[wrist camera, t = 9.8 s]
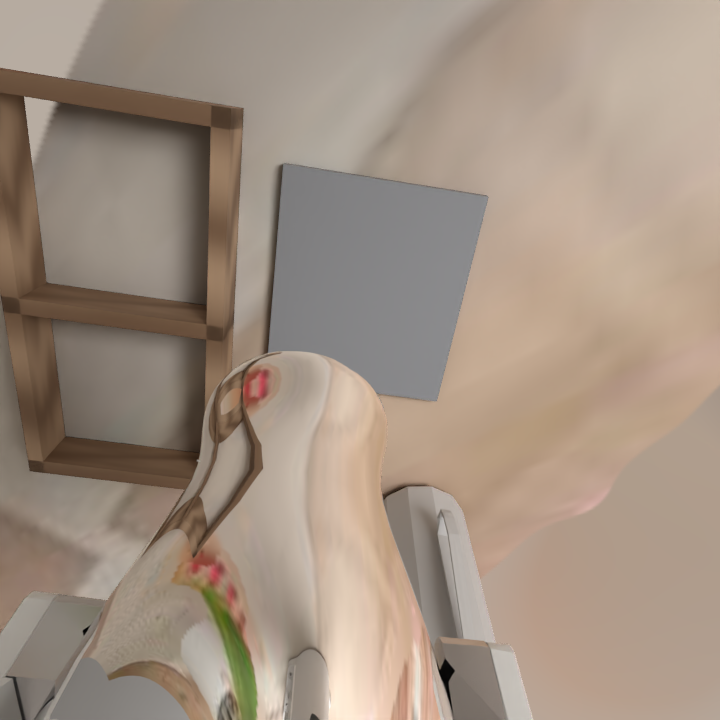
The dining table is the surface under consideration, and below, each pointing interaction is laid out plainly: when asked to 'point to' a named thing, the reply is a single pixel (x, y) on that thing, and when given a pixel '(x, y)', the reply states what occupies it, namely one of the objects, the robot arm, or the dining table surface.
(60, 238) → the dining table surface
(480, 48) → the dining table surface
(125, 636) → the beer glass
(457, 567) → the water bottle
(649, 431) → the dining table surface
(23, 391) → the frame
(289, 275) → the charcoal mat
